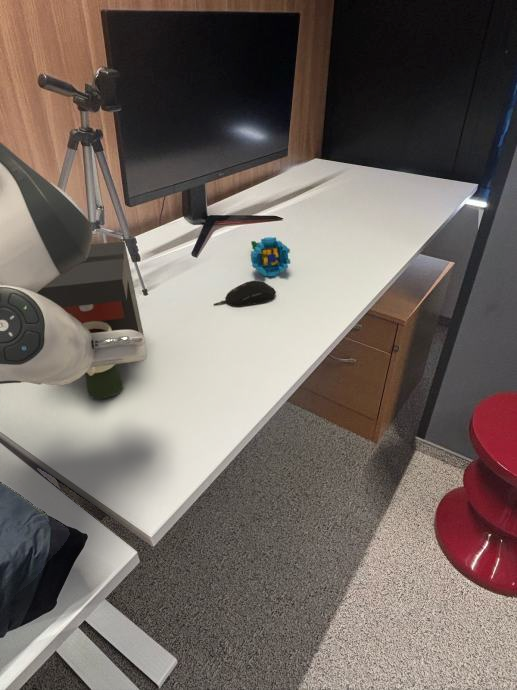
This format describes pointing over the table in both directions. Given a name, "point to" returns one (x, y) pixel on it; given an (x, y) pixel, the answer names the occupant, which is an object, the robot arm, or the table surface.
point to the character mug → (102, 371)
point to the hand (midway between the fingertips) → (81, 360)
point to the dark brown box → (99, 289)
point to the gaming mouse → (249, 294)
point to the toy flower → (269, 256)
